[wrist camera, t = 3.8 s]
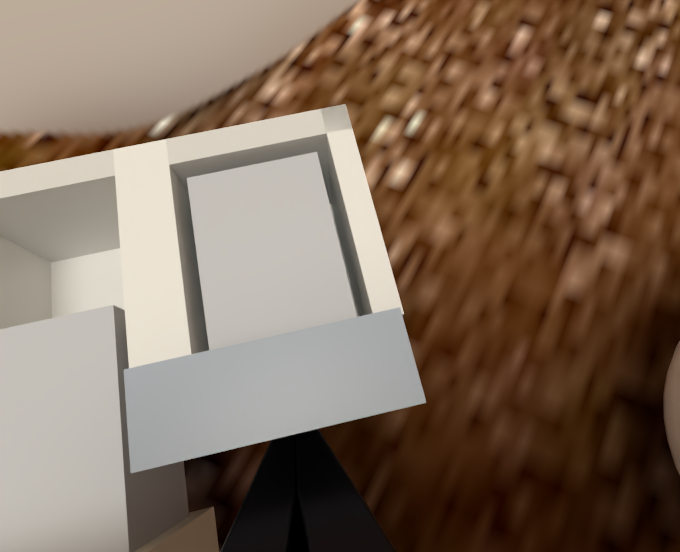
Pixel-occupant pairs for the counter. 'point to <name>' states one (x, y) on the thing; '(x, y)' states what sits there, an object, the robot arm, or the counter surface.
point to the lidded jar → (673, 406)
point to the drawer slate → (268, 326)
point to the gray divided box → (166, 229)
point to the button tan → (82, 448)
